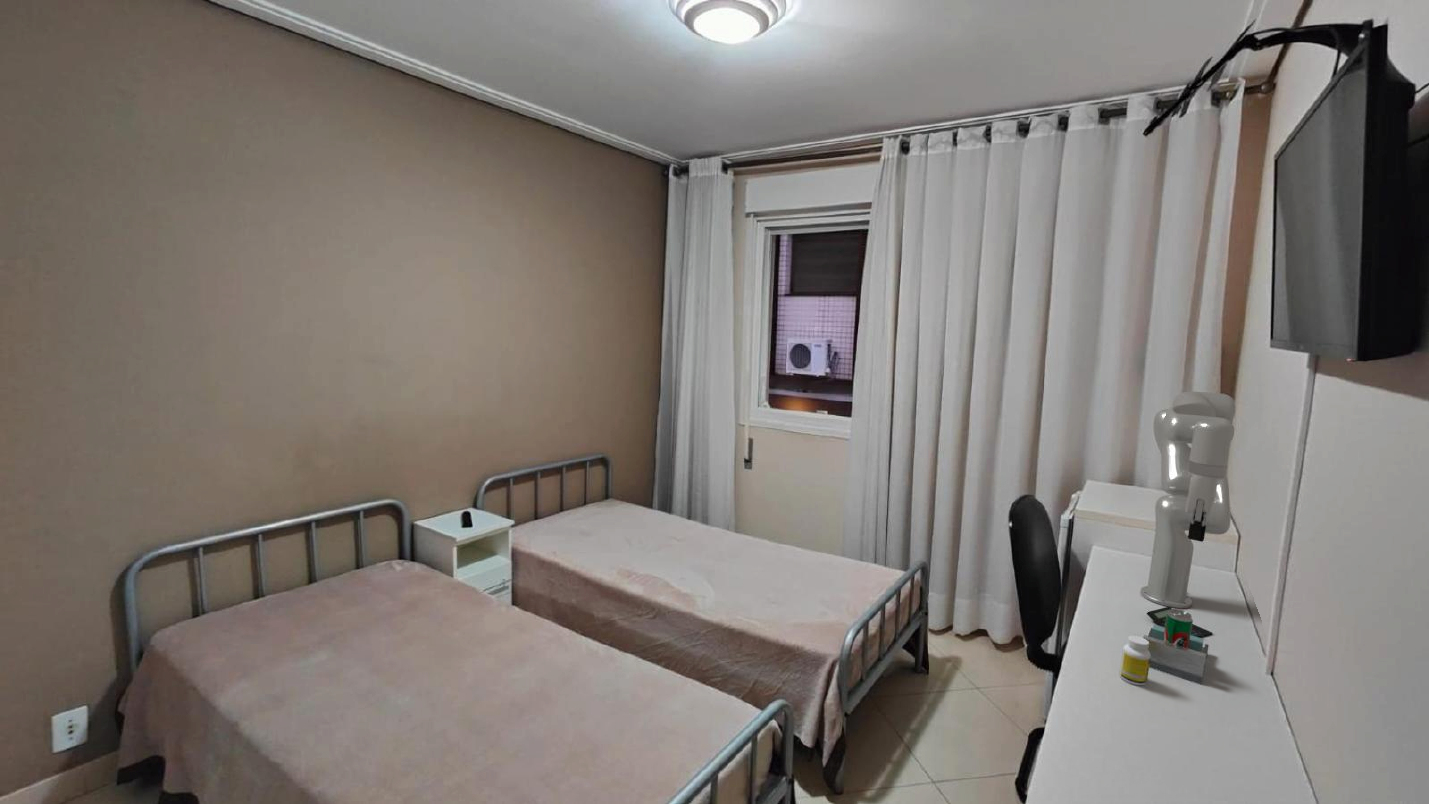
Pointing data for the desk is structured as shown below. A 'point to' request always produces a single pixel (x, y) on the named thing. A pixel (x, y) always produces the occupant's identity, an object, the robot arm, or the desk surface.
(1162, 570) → the robot arm
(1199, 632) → the calculator
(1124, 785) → the desk surface
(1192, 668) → the grey tray
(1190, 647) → the block
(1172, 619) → the soda can
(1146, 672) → the supplement bottle
